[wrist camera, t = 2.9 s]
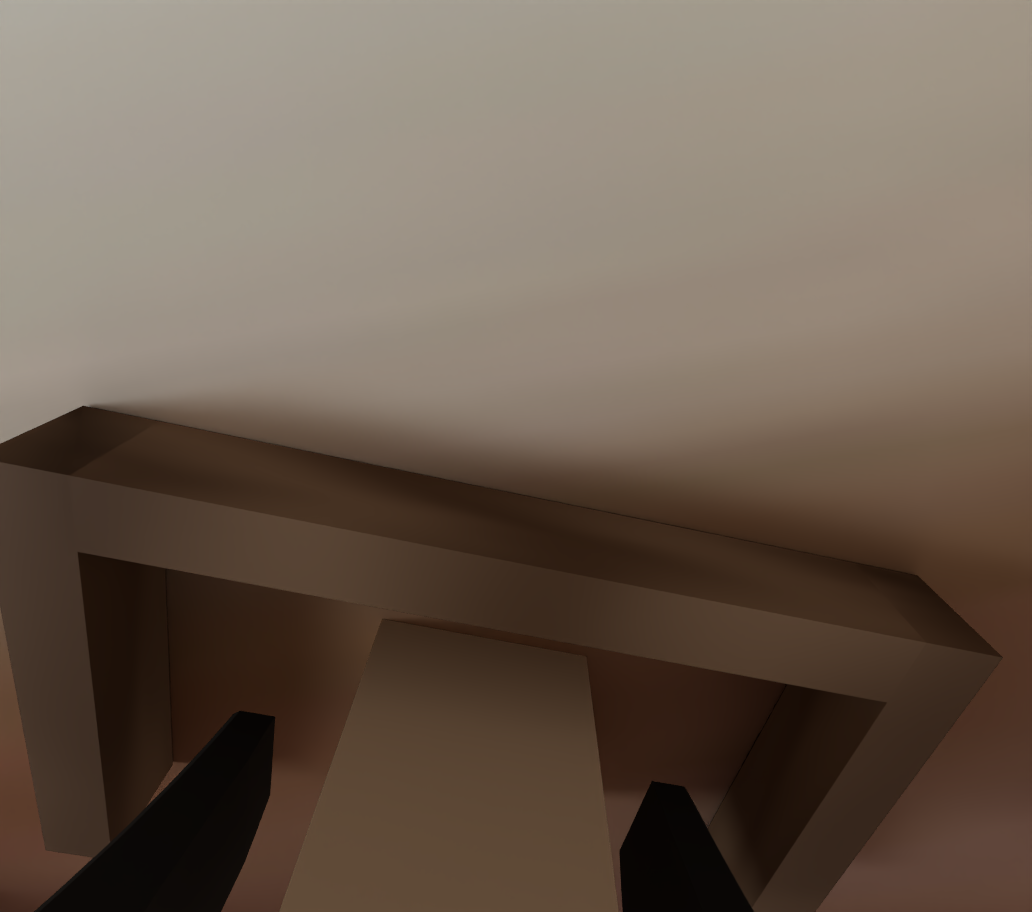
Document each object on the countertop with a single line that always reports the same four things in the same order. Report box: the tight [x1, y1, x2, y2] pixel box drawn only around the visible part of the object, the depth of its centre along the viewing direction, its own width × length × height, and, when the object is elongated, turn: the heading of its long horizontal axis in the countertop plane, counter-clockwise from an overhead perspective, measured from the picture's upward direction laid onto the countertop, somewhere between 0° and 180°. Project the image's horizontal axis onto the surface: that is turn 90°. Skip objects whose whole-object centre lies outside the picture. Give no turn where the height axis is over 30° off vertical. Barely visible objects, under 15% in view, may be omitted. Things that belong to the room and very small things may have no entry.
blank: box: [279, 619, 619, 912], centre depth 10 cm, size 4×4×5 cm
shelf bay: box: [0, 406, 1003, 912], centre depth 10 cm, size 14×8×2 cm, turn 78°
